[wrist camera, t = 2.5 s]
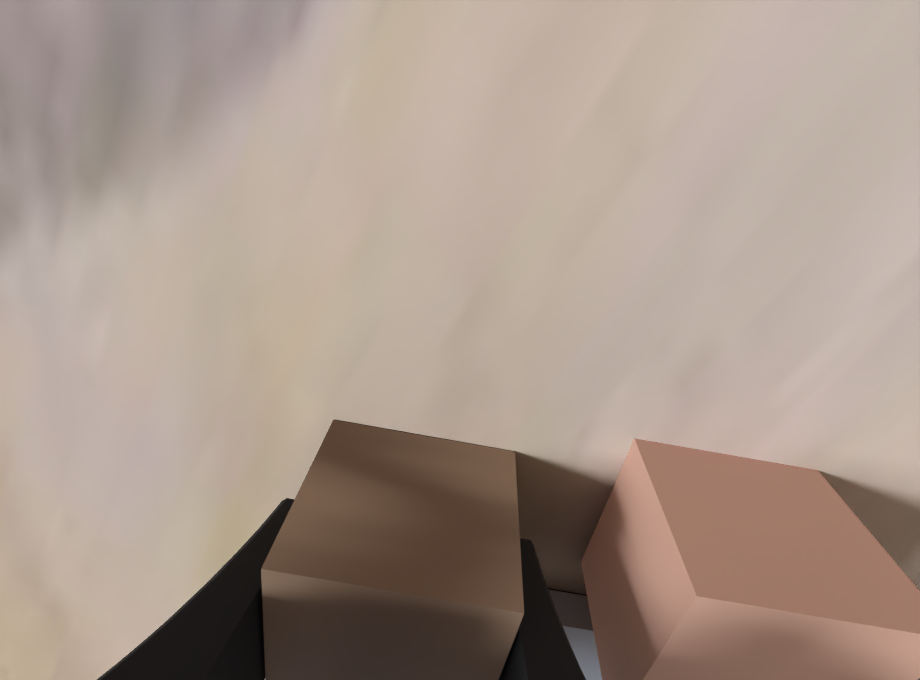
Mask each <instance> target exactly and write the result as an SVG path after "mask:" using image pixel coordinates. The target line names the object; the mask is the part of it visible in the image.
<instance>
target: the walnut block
mask: <svg viewBox="0 0 920 680" xmlns="http://www.w3.org/2000/svg"><path fill="white" fill-rule="evenodd" d="M261 581H262V605H263V629H264V653H265V678H266V680H499V677H500V675H501V672H502V670H503V667H504V664H505V662H506V659H507V657H508V654H509V651H510V649H511V646H512V644H513V641H514V639H515V636H516V633H517V631H518V628H519V626H520V623H521V620H522V618H523V615H524V601H523V583H522V566H521V548H520V531H519V513H518V496H517V479H516V461H515V452H514V451H508V450H502V449H497V448H491V447H485V446H480V445H474V444H468V443H463V442H457V441H451V440H446V439H440V438H434V437H429V436H423V435H417V434H412V433H406V432H400V431H395V430H389V429H383V428H378V427H372V426H366V425H361V424H355V423H349V422H344V421H338V420H333V422H332V424H331V426H330V428H329V430H328V432H327V434H326V436H325V438H324V440H323V443H322V445H321V447H320V449H319V451H318V453H317V455H316V457H315V459H314V461H313V463H312V465H311V467H310V469H309V471H308V473H307V475H306V477H305V480H304V482H303V484H302V486H301V488H300V490H299V492H298V494H297V496H296V498H295V500H294V502H293V504H292V506H291V508H290V510H289V512H288V515H287V517H286V519H285V521H284V523H283V525H282V527H281V529H280V531H279V533H278V535H277V537H276V539H275V541H274V543H273V545H272V547H271V549H270V552H269V554H268V556H267V558H266V560H265V562H264V564H263V566H262V568H261Z"/></svg>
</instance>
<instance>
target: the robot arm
mask: <svg viewBox="0 0 920 680" xmlns="http://www.w3.org/2000/svg"><path fill="white" fill-rule="evenodd" d="M293 502H294V499H288V498H287V499H285V500H283V501H282V502H281V503H280V504H279V505H278V507H277V508H276V509H275V510H274V511H273V513H272V514H271V515H270V516H269V517H268V518H267V520H266V521H265V522H264V523H263V524H262V525H261V527H260V528H259V529H258V530H257V531H256V532H255V533H254V534H253V535H252V537H251V538H250V539H249V540H248V541H247V542H246V543H245V544H244V545H243V546H242V547H241V549H240V550H239V551H238V552H237V553H236V554H235V555H234V556H233V557H232V558H231V559H230V560H229V561H228V562H227V563H226V564H225V565H224V566H223V567H222V568H221V569H220V570H219V571H218V572H217V573H216V574H215V575H214V576H213V577H212V578H211V579H210V580H209V581H208V582H207V583H206V584H205V585H204V586H203V587H202V588H201V589H200V590H199V591H198V592H197V593H196V594H195V595H194V596H193V597H192V598H191V599H190V600H188V601H187V602H186V603H185V604H184V605H183V606H182V607H181V608H180V609H179V610H178V611H177V612H176V613H175V614H174V615H173V616H172V617H170V618H169V619H168V620H167V621H166V622H165V623H164V624H163V625H162V626H160V627H159V628H158V629H157V630H156V631H155V632H154V633H153V634H151V635H150V636H149V637H148V638H147V639H146V640H144V641H143V642H142V643H141V644H140V645H139V646H137V647H136V648H135V649H134V650H133V651H131V652H130V653H129V654H128V655H127V656H126V657H124V658H123V659H122V660H121V661H120V662H118V663H117V664H116V665H115V666H113V667H112V668H111V669H110V670H108V671H107V672H106V673H105V674H103V675H102V676H101V677H100V678H98V679H97V680H264V679H265V653H264V629H263V605H262V581H261V568H262V566H263V564H264V562H265V560H266V558H267V556H268V554H269V552H270V549H271V547H272V545H273V543H274V541H275V539H276V537H277V535H278V533H279V531H280V529H281V527H282V525H283V523H284V521H285V519H286V517H287V515H288V512H289V510H290V508H291V506H292V504H293ZM520 548H521V566H522V583H523V601H524V615H523V618H522V620H521V623H520V626H519V628H518V631H517V633H516V636H515V639H514V641H513V644H512V646H511V649H510V651H509V654H508V657H507V659H506V662H505V664H504V667H503V670H502V672H501V675H500V677H499V680H586V678H585V676H584V674H583V672H582V670H581V668H580V666H579V663H578V661H577V659H576V657H575V654H574V652H573V650H572V648H571V645H570V643H569V640H568V638H567V636H566V633H565V631H564V629H563V626H562V624H561V621H560V619H559V617H558V614H557V611H556V609H555V606H554V604H553V601H552V598H551V596H550V593H549V590H548V588H547V585H546V582H545V579H544V576H543V574H542V571H541V568H540V565H539V561H538V558H537V555H536V552H535V548H534V545H533V543H532V542H531V541H530V540H526V539H521V538H520Z"/></svg>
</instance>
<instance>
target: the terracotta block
mask: <svg viewBox="0 0 920 680" xmlns="http://www.w3.org/2000/svg"><path fill="white" fill-rule="evenodd" d="M581 565H582V571H583V576H584V582H585V587H586V593H587V598H588V604H589V609H590V615H591V621H592V626H593V632H594V637H595V643H596V648H597V654H598V659H599V665H600V670H601V676H602V680H918V679H919V678H920V591H919V590H918V588H917V587H916V586H915V585H914V584H913V583H912V581H911V580H910V579H909V578H908V577H907V575H906V574H905V573H904V572H903V571H902V569H901V568H900V567H899V566H898V565H897V564H896V562H895V561H894V560H893V559H892V558H891V556H890V555H889V554H888V553H887V552H886V550H885V549H884V548H883V547H882V546H881V545H880V543H879V542H878V541H877V540H876V539H875V537H874V536H873V535H872V534H871V533H870V532H869V530H868V529H867V528H866V527H865V526H864V524H863V523H862V522H861V521H860V520H859V518H858V517H857V516H856V515H855V514H854V513H853V511H852V510H851V509H850V508H849V507H848V505H847V504H846V503H845V502H844V501H843V500H842V498H841V497H840V496H839V495H838V494H837V492H836V491H835V490H834V489H833V488H832V486H831V485H830V484H829V483H828V482H827V481H826V479H825V478H824V477H823V476H822V475H821V473H820V472H819V471H818V470H812V469H807V468H801V467H795V466H789V465H784V464H778V463H772V462H766V461H761V460H755V459H749V458H743V457H738V456H732V455H726V454H720V453H715V452H709V451H703V450H697V449H691V448H686V447H680V446H674V445H668V444H663V443H657V442H651V441H645V440H640V439H634V441H633V443H632V445H631V448H630V450H629V452H628V455H627V457H626V459H625V461H624V464H623V466H622V468H621V471H620V473H619V475H618V478H617V480H616V482H615V485H614V487H613V489H612V491H611V494H610V496H609V498H608V501H607V503H606V505H605V508H604V510H603V512H602V515H601V517H600V519H599V521H598V524H597V526H596V528H595V531H594V533H593V535H592V538H591V540H590V542H589V545H588V547H587V549H586V552H585V554H584V556H583V558H582V561H581Z"/></svg>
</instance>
